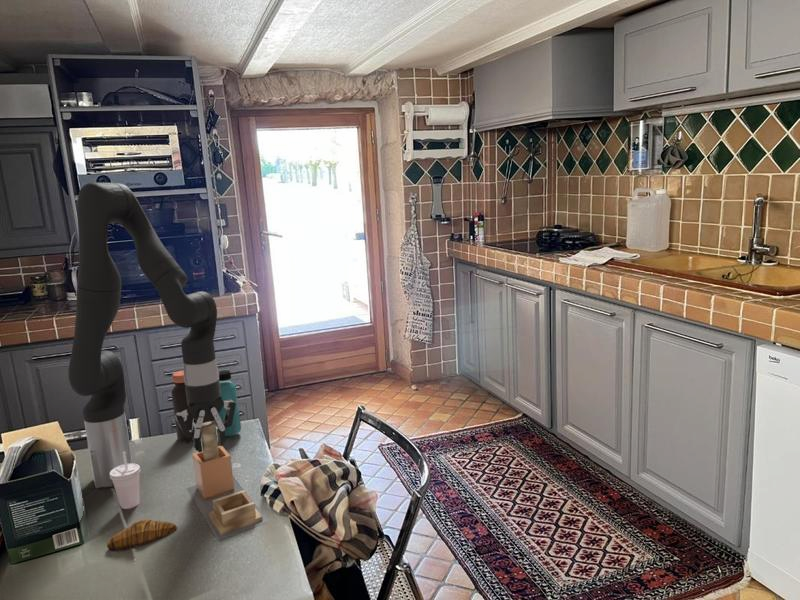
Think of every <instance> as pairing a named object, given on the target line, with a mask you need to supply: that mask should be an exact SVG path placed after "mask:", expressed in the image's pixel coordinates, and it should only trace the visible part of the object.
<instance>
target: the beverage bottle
mask: <svg viewBox="0 0 800 600" xmlns="http://www.w3.org/2000/svg"><path fill="white" fill-rule="evenodd" d="M218 372H219V382H220V390H221V398H222V399H223V401H228V400H230V399H231V400H233V401H234V402H235V403H236V406H235V411H234V417H233V423H232V426H230V427H227V428H226V429H225V437H226V436H227V437H228V436H234V435H236V434H238V433H240V432H241V430H242V424H241V415H240V409H239V408H240V407H239V402H238V392H237V384H236V383H235V382H233V381H232V380H231V379H232V374H231V371H230V370H226V369H225V370H220V371H219V370H218ZM225 414H226V409H225V406H223V407H222V409H221V411H220V413H219V416H220V418H221V420H222V422H223V421H224V419H225Z"/></svg>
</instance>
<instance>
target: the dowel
mask: <svg viewBox="0 0 800 600" xmlns="http://www.w3.org/2000/svg"><path fill="white" fill-rule="evenodd" d="M216 427H217V426H216V424H215V422H214V421H207V422H205V423H202V428H201V430H200V431H201V445H202V451H203V454H204V462H206V461H209V460H213V459H216V458H219V451H218V446H219V443H218V436H217V428H216Z"/></svg>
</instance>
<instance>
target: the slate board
mask: <svg viewBox="0 0 800 600" xmlns="http://www.w3.org/2000/svg"><path fill="white" fill-rule="evenodd" d="M233 482H234V491H232V492H229V493H226V494H223V495H220V496H217V497H214V498H211V499H208V500H204V499H203V497H202V496H201V494H200V492H199V491H198V489H197V486H196V485H192V486H190V487H187V488H186V489H187V491H188V493H189V494H190V496H191V498H192V500H193V501H194V503H195V505H196V506H197V508H198V509H199V511H200V513H201V515H202V517H203V518H204V520H205V521H206V523H207V524H208V526H209V528H210V530H211V531H212V533H213V535H214V536H215V538H216V539H217V541H218V542H219V541H222V540H224V539H227V538H230V537H232V536H236V535H237V534H240V533H243V532H246V531H248V530H251V529H254V528H257V527H259V526H261V525H265V524H266V523H269V522H270V520H269V519H268V517H267V516H266V515H265V514H264V513H263V512H262V511H261V509H260V508H259V507H258V505H257V504H256V503H255V502H254V500H253V499H252V498H251V496H250V495H249V494H248V493H247V491H245V489H244V488H243V486H242V485H241V484H240V483H239V481H238V480H237V479H236V478H235V476H234V475H233ZM243 490H244V491H245V492H246V493H247V495H248V496H249V497H250V498H251V500H252V501H253V502H254V503H255V508H256V509H257V511H258V512H259V513H260V514H261V516H262V520H261V521H258V522H255V523H253V524H250V525H247V526H245V527H242V528H239V529H236V530H234V531H231V532H228V533H226V534H223V535H220V533H219V531H218V530H217V528H216V527H215V525H214V523H213V522H212V520H211V518H210V517H209V513H208V512H211V511H214V507H213V500H216V499H219V498H222V497H225V496H228V495H231V494H234V493H237V492H240V491H243Z"/></svg>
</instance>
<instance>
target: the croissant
mask: <svg viewBox="0 0 800 600" xmlns="http://www.w3.org/2000/svg"><path fill="white" fill-rule="evenodd" d="M177 529H178V527H177V525H176V524H175V523H172V522H168V521H161V520H152V519H141V520H138V521H136V522H133V523H132V524H131V525H129V527H127V528H124V529H123V530H122V531H120V532H118V533H116V534H115V535H113V537H111V538H110V539H109V540H108V541H107V545H106V547H107V549H108V551H115V552H116V551H126V550H130V549H136V547H137V546H140V545H141V546H142V545H145V544H148V543H151V542H154V541H156V540H159V539H162V538H164V537H166V536H168V535H170V534H172V533H174V532H176V531H177Z"/></svg>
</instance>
